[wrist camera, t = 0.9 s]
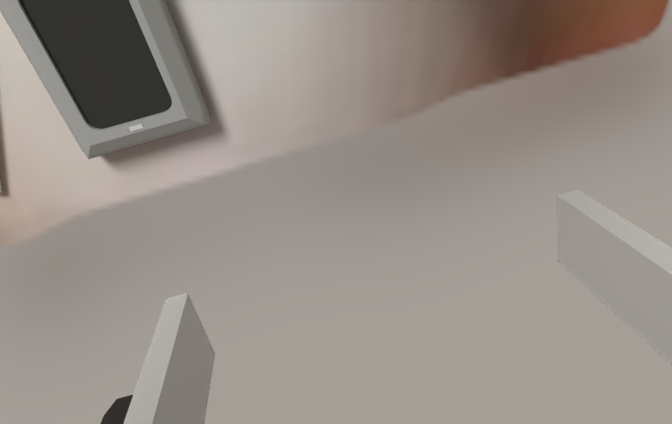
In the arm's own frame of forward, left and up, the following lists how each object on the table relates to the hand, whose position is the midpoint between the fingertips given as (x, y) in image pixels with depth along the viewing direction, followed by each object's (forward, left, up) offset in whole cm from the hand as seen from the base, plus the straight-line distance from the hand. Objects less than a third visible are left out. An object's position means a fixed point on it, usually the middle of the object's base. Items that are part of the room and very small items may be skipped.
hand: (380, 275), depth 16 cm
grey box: (0, -13, -26) cm, 29 cm away
